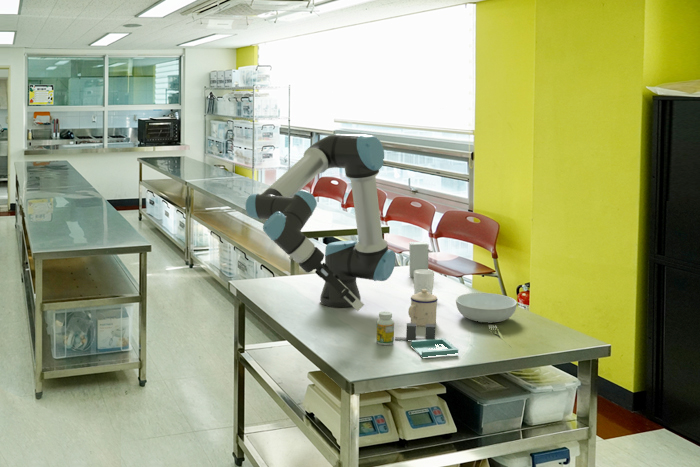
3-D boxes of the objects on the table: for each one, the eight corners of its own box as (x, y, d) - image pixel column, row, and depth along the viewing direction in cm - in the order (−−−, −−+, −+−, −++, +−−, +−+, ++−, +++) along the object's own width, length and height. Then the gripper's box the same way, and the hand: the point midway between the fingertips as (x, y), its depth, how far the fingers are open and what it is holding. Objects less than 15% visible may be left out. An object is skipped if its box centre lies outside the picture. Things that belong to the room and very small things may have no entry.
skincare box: (427, 274, 315) (428, 241, 312) (428, 277, 309) (429, 244, 306) (408, 274, 315) (409, 241, 313) (409, 277, 309) (409, 243, 307)
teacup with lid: (421, 317, 250) (422, 285, 248) (442, 323, 243) (443, 289, 241) (398, 324, 242) (399, 290, 239) (419, 330, 235) (420, 296, 233)
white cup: (433, 294, 281) (434, 269, 279) (433, 299, 273) (434, 274, 272) (413, 293, 282) (413, 268, 280) (412, 298, 274) (413, 273, 272)
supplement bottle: (396, 344, 221) (397, 314, 219) (381, 346, 218) (381, 316, 217) (388, 339, 225) (389, 310, 224) (373, 341, 223) (374, 311, 222)
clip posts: (395, 340, 224) (395, 325, 223) (395, 337, 227) (395, 322, 226) (446, 342, 223) (446, 327, 222) (445, 339, 225) (446, 324, 225)
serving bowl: (444, 314, 254) (445, 295, 253) (494, 308, 262) (495, 290, 261) (475, 331, 235) (476, 311, 234) (528, 324, 243) (529, 305, 242)
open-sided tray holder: (423, 358, 208) (423, 352, 208) (410, 346, 218) (410, 340, 218) (458, 356, 211) (458, 349, 210) (444, 344, 221) (444, 338, 221)
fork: (509, 351, 217) (509, 345, 217) (487, 330, 237) (487, 325, 236) (519, 351, 218) (519, 345, 218) (496, 330, 237) (496, 324, 237)
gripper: (290, 255, 222) (337, 300, 229) (305, 273, 199) (356, 322, 205) (307, 238, 223) (353, 283, 229) (324, 254, 199) (374, 303, 205)
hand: (355, 301), depth 217 cm, fingers open, 13 cm apart
